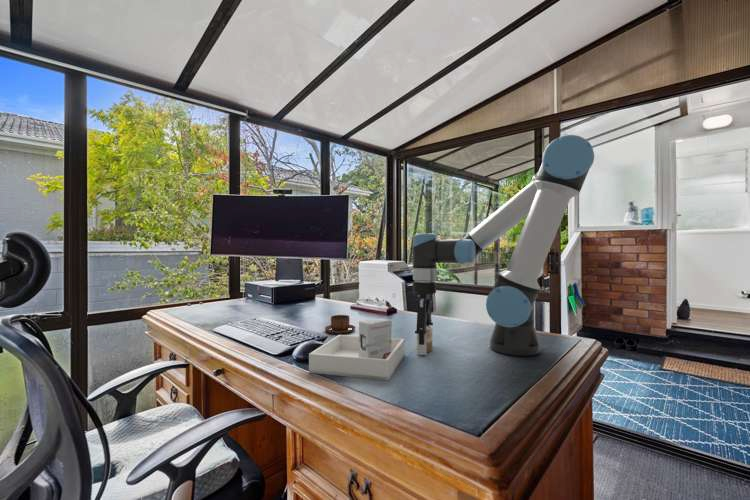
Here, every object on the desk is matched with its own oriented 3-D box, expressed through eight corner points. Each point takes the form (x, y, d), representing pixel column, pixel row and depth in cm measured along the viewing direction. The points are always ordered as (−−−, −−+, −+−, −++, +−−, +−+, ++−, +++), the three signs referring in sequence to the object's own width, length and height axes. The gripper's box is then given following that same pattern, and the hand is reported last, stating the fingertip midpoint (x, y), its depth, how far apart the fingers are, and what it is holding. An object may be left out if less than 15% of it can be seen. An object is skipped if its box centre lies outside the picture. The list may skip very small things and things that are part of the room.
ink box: (381, 357, 105) (381, 317, 104) (392, 361, 101) (392, 319, 101) (357, 363, 99) (357, 321, 99) (368, 367, 95) (368, 324, 95)
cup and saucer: (361, 332, 139) (361, 316, 139) (336, 337, 132) (336, 321, 131) (343, 327, 148) (343, 312, 148) (319, 332, 141) (318, 316, 140)
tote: (404, 355, 109) (404, 339, 109) (388, 380, 88) (388, 360, 88) (339, 350, 115) (338, 334, 115) (309, 372, 94) (308, 353, 94)
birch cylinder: (433, 348, 116) (433, 327, 116) (431, 353, 111) (431, 330, 111) (418, 347, 118) (418, 326, 118) (415, 351, 113) (415, 329, 113)
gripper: (418, 278, 126) (418, 339, 127) (406, 284, 104) (406, 359, 104) (439, 278, 124) (439, 341, 125) (431, 285, 102) (431, 361, 102)
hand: (424, 349), depth 114 cm, fingers open, 10 cm apart
